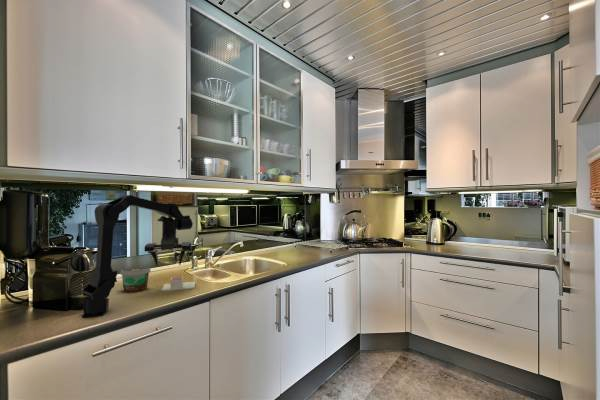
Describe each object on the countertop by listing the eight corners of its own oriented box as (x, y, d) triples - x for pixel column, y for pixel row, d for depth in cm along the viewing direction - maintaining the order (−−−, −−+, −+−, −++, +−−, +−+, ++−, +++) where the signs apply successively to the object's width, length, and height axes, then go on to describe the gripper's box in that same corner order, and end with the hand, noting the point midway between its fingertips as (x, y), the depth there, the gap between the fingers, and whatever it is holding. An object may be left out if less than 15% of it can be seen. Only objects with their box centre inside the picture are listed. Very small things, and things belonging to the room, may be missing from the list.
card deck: (170, 289, 126) (170, 280, 126) (171, 284, 133) (171, 276, 133) (182, 288, 128) (182, 279, 128) (182, 283, 135) (182, 275, 135)
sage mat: (161, 291, 125) (161, 290, 125) (164, 285, 134) (164, 283, 134) (194, 288, 129) (194, 287, 129) (195, 282, 139) (195, 281, 139)
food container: (115, 294, 120) (115, 271, 120) (120, 290, 126) (120, 268, 126) (146, 292, 123) (147, 270, 123) (150, 288, 129) (150, 267, 129)
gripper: (142, 233, 114) (141, 271, 113) (190, 232, 120) (190, 268, 120) (147, 230, 124) (146, 265, 124) (191, 230, 130) (191, 262, 130)
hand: (168, 265), depth 124 cm, fingers open, 9 cm apart
